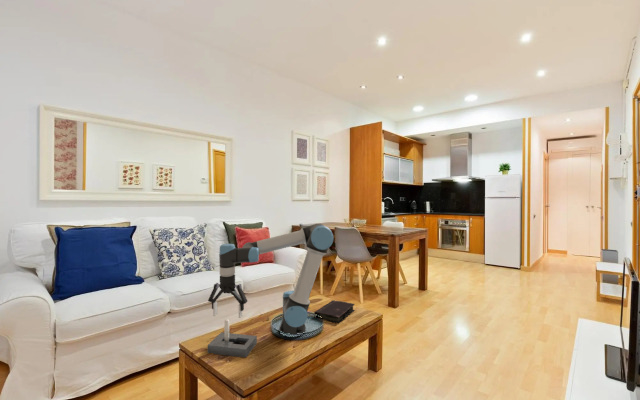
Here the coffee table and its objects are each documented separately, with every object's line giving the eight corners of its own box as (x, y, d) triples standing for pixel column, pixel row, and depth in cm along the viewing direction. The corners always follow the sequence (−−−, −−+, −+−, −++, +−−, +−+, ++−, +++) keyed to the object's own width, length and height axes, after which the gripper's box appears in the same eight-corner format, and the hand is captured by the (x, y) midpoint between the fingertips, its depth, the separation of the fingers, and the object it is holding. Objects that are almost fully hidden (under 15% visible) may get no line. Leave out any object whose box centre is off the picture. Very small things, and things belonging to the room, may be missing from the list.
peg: (232, 345, 158) (233, 318, 158) (228, 350, 153) (229, 322, 153) (224, 344, 159) (224, 318, 158) (220, 349, 154) (220, 321, 154)
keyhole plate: (256, 343, 161) (256, 335, 161) (246, 357, 147) (246, 349, 147) (221, 339, 164) (221, 332, 164) (207, 353, 150) (207, 345, 150)
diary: (313, 318, 196) (313, 310, 196) (331, 306, 217) (331, 299, 217) (339, 324, 186) (339, 316, 186) (355, 311, 208) (356, 304, 208)
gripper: (253, 273, 157) (253, 314, 157) (208, 271, 161) (209, 311, 161) (247, 277, 149) (248, 320, 150) (200, 275, 153) (201, 317, 154)
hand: (227, 316), depth 156 cm, fingers open, 13 cm apart
